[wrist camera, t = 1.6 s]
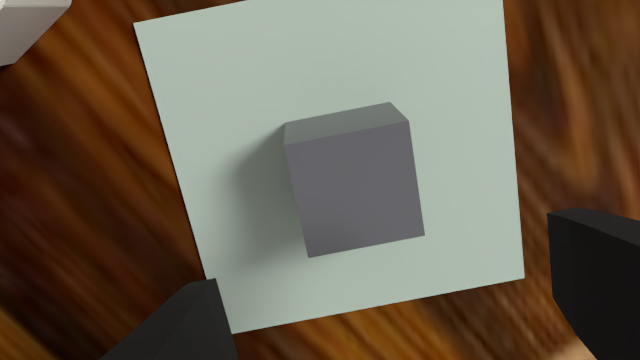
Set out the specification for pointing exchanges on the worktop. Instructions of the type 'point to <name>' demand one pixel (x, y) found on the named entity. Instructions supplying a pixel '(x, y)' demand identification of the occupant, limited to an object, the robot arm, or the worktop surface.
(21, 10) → the bowl
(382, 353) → the worktop surface
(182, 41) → the lid
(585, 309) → the robot arm
